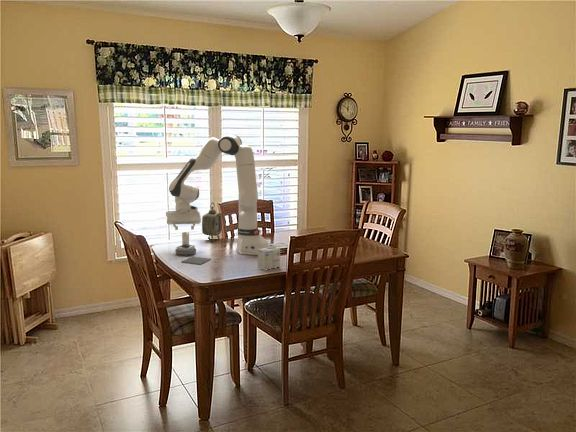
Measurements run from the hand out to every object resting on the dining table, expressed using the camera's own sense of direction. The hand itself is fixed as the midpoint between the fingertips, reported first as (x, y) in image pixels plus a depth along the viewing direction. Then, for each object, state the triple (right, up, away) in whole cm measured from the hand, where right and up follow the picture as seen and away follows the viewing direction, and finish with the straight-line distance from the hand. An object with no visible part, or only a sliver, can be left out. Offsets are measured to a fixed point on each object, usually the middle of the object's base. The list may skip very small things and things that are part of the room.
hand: (184, 229), depth 304 cm
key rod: (+1, -12, -4) cm, 13 cm away
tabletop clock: (+11, -8, +35) cm, 38 cm away
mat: (+11, -17, -19) cm, 28 cm away
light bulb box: (+51, -20, -29) cm, 62 cm away
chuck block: (+1, -14, -3) cm, 15 cm away
